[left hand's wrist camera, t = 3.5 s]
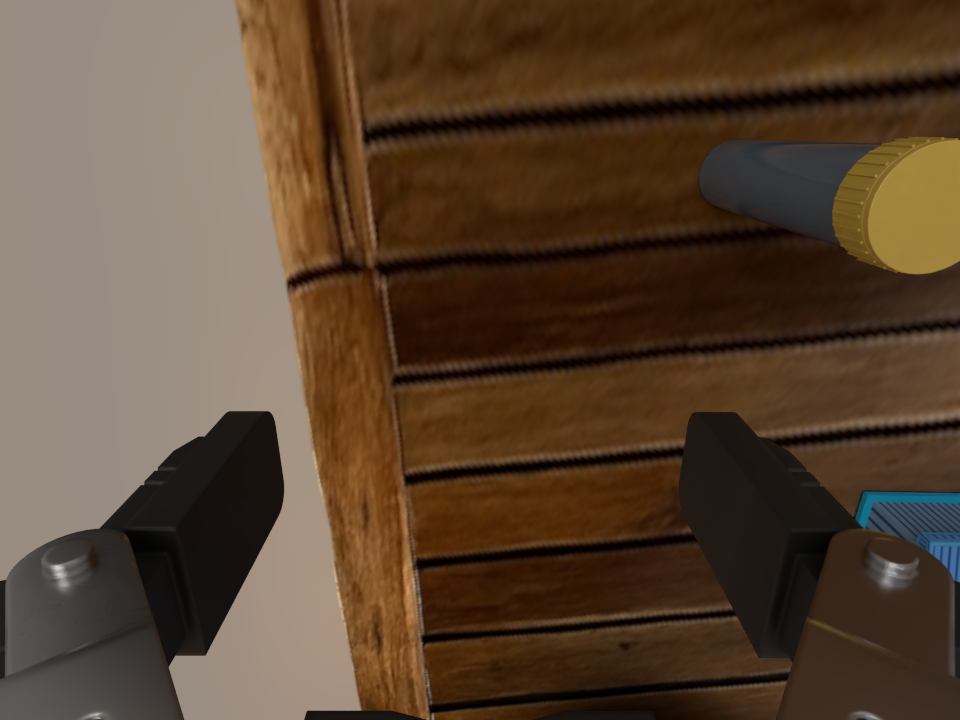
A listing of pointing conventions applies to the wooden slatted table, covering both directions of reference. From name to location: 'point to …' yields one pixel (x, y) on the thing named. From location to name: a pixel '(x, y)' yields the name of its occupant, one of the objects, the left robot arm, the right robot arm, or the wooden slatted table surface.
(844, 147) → the grey bottle
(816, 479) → the left robot arm
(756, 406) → the wooden slatted table surface
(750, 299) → the wooden slatted table surface
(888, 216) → the lid
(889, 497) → the model building
